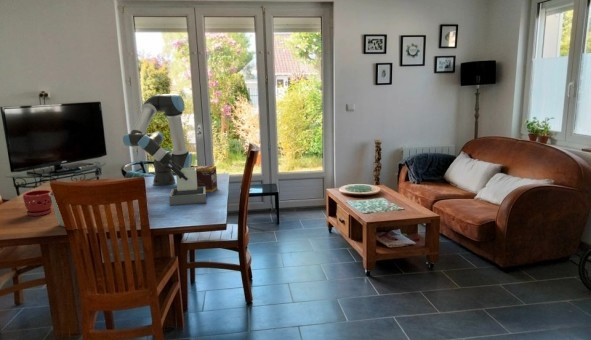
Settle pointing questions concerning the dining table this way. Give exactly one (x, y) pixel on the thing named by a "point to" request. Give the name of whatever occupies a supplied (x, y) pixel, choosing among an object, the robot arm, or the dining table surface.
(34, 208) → the plant pot
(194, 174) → the small crate
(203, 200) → the large crate
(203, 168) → the supplement box
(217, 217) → the dining table surface
